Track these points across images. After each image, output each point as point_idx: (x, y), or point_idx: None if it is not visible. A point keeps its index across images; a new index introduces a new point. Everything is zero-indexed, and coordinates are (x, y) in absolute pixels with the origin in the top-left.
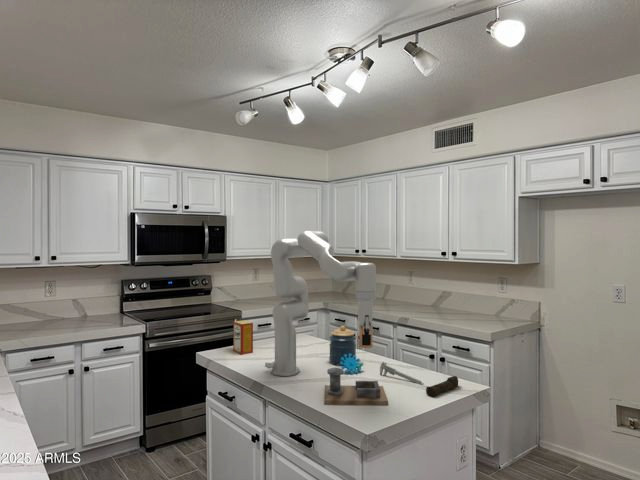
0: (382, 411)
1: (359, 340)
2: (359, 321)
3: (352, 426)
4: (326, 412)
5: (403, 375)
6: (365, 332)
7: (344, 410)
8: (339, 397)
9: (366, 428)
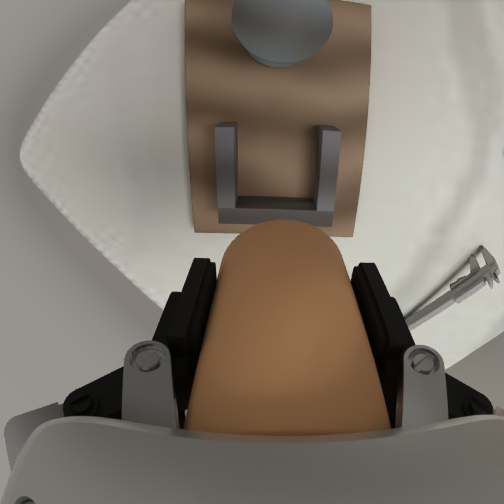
0: (144, 202)
1: (274, 253)
2: (23, 492)
3: (39, 117)
4: (118, 22)
5: (424, 313)
6: (96, 386)
7: (137, 77)
8: (218, 52)
9: (36, 154)
